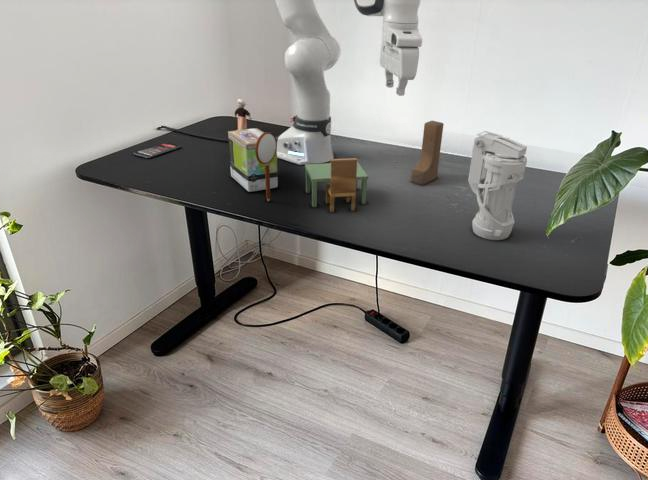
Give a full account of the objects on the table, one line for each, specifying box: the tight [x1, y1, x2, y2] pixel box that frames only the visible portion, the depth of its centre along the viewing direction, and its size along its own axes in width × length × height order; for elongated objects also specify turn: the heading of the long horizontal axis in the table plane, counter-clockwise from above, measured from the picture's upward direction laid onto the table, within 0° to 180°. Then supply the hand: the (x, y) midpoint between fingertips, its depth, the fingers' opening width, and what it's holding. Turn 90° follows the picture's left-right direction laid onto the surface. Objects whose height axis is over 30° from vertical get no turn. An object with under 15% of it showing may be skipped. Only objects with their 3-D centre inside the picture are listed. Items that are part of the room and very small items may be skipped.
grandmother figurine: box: [233, 98, 253, 130], centre depth 208 cm, size 8×4×13 cm, turn 81°
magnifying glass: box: [255, 131, 277, 202], centre depth 150 cm, size 9×2×20 cm, turn 149°
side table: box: [304, 161, 369, 208], centre depth 157 cm, size 12×16×8 cm
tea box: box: [227, 127, 279, 193], centre depth 163 cm, size 15×10×15 cm, turn 31°
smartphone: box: [133, 141, 181, 159], centre depth 188 cm, size 7×1×15 cm
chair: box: [325, 157, 358, 213], centre depth 150 cm, size 7×7×15 cm
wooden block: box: [410, 120, 445, 186], centre depth 169 cm, size 9×4×18 cm, turn 141°
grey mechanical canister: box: [467, 130, 528, 241], centre depth 137 cm, size 13×10×25 cm
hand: (394, 91), depth 143 cm, fingers open, 8 cm apart
